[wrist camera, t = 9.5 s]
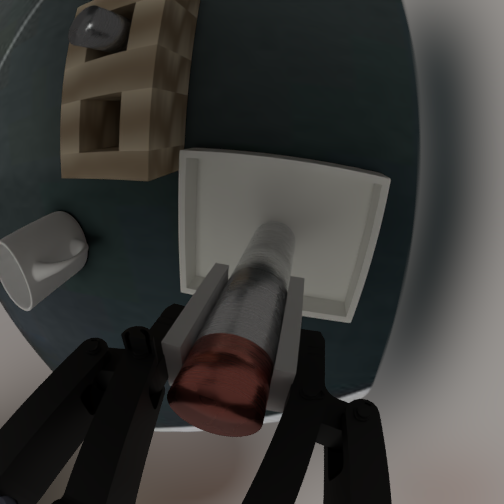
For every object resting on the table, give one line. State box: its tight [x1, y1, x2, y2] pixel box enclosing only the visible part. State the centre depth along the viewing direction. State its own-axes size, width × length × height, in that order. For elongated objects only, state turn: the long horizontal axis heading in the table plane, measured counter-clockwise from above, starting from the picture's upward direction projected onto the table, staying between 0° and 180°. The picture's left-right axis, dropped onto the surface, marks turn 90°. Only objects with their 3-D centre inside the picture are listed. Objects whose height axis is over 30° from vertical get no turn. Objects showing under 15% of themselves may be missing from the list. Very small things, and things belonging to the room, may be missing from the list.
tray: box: [178, 148, 391, 323], centre depth 23 cm, size 13×16×3 cm
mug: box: [0, 211, 89, 311], centre depth 25 cm, size 9×12×11 cm
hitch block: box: [60, 0, 200, 181], centre depth 18 cm, size 17×10×6 cm, turn 175°
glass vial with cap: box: [167, 221, 295, 437], centre depth 15 cm, size 3×3×16 cm
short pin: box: [68, 5, 132, 54], centre depth 15 cm, size 3×3×9 cm
